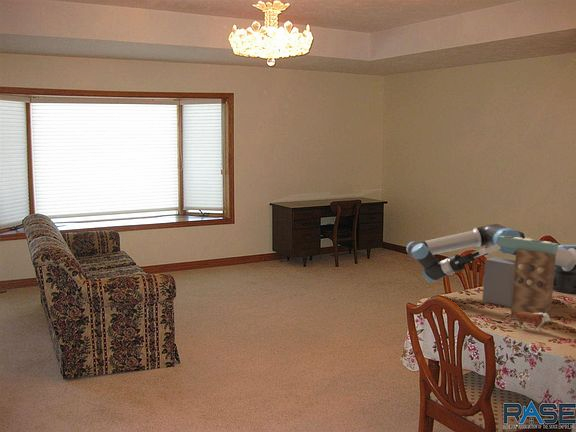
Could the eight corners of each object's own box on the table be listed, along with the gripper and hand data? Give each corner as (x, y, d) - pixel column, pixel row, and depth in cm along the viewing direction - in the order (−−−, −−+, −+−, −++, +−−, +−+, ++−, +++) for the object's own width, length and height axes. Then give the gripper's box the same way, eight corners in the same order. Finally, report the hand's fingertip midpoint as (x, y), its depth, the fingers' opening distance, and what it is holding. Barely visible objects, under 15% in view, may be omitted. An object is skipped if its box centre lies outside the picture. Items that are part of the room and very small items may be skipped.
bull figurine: (548, 334, 245) (550, 315, 244) (513, 328, 252) (515, 309, 251) (550, 331, 249) (552, 312, 248) (516, 325, 256) (517, 306, 255)
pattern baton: (557, 252, 256) (558, 242, 256) (553, 254, 254) (554, 244, 253) (501, 244, 272) (502, 234, 272) (497, 245, 269) (498, 235, 269)
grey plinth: (516, 303, 288) (519, 261, 285) (509, 306, 282) (512, 264, 279) (489, 297, 297) (492, 257, 294) (482, 301, 291) (485, 259, 288)
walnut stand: (549, 321, 263) (556, 252, 258) (542, 325, 257) (549, 254, 252) (517, 313, 272) (522, 247, 268) (510, 317, 266) (515, 249, 262)
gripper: (469, 267, 295) (508, 252, 281) (443, 276, 277) (483, 260, 263) (462, 253, 296) (501, 236, 283) (436, 261, 278) (476, 244, 264)
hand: (492, 248), depth 273 cm, fingers open, 13 cm apart
